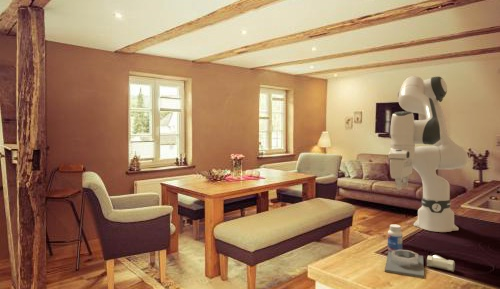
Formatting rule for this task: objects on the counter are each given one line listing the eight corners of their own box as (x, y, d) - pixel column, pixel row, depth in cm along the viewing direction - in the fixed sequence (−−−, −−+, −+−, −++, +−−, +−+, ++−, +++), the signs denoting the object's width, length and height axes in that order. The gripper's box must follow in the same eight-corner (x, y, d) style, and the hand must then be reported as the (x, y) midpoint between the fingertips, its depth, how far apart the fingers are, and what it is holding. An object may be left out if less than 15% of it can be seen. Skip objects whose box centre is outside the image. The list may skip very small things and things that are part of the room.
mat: (388, 253, 134) (388, 251, 134) (423, 257, 129) (423, 255, 129) (384, 271, 118) (384, 269, 118) (424, 278, 112) (424, 275, 112)
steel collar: (392, 256, 129) (392, 248, 129) (418, 259, 125) (418, 251, 125) (390, 265, 121) (391, 256, 121) (418, 269, 117) (418, 260, 117)
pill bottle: (384, 248, 139) (384, 225, 138) (393, 246, 141) (393, 222, 141) (396, 253, 134) (396, 228, 133) (405, 250, 136) (405, 226, 136)
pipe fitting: (430, 262, 126) (426, 267, 121) (431, 252, 126) (426, 256, 121) (456, 268, 121) (452, 273, 116) (456, 257, 121) (453, 261, 116)
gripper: (400, 151, 145) (400, 183, 146) (386, 154, 129) (386, 190, 129) (416, 151, 142) (416, 185, 142) (405, 154, 125) (404, 192, 126)
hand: (402, 187), depth 136 cm, fingers open, 8 cm apart
